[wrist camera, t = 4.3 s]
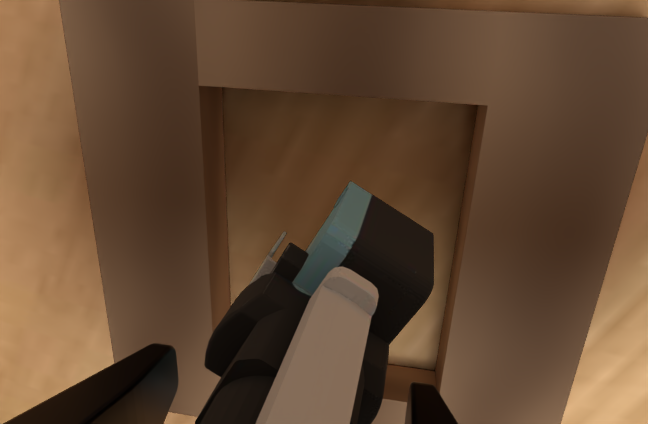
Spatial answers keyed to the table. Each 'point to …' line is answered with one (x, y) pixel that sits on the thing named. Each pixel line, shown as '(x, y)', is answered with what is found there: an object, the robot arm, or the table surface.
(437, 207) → the table surface
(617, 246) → the table surface
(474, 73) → the board
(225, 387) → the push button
